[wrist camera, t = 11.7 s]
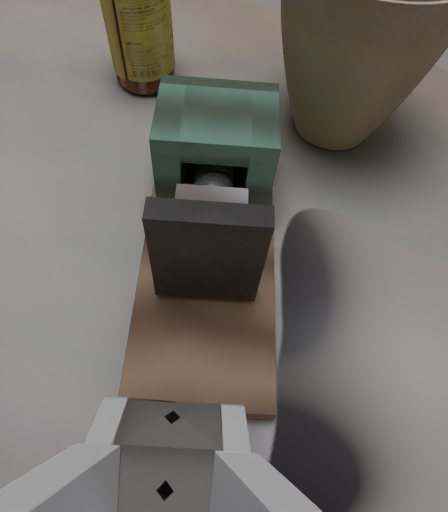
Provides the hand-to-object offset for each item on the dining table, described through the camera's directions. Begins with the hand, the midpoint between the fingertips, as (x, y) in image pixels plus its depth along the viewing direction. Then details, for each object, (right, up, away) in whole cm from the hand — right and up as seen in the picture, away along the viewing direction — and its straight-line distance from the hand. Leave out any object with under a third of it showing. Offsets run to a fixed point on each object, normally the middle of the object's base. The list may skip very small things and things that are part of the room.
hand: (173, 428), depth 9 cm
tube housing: (0, +3, +25) cm, 25 cm away
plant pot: (+12, +17, +34) cm, 40 cm away
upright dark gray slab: (0, +6, +25) cm, 25 cm away
